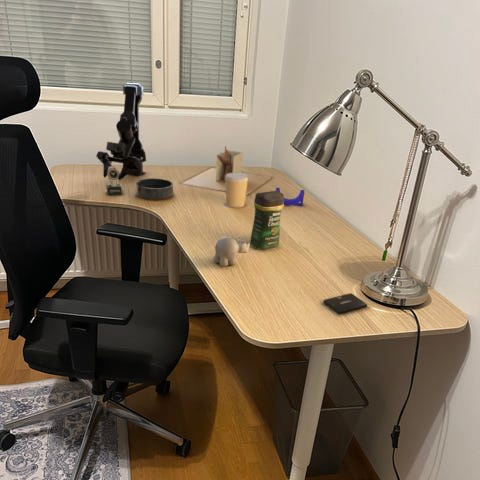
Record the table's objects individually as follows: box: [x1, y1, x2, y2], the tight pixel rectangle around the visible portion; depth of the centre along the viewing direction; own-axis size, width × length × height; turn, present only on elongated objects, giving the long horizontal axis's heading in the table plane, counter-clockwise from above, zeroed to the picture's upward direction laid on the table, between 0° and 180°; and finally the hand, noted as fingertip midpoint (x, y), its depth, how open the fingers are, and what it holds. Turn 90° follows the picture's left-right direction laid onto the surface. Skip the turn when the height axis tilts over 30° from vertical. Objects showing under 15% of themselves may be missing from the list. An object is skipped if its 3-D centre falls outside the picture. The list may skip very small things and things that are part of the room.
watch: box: [106, 165, 123, 196], centre depth 193 cm, size 6×8×11 cm
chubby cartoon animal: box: [213, 236, 250, 267], centre depth 143 cm, size 7×12×8 cm, turn 120°
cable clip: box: [275, 187, 305, 207], centre depth 197 cm, size 12×4×6 cm, turn 84°
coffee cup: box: [225, 173, 248, 208], centre depth 190 cm, size 9×9×12 cm
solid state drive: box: [323, 293, 368, 315], centre depth 127 cm, size 7×10×1 cm
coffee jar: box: [249, 189, 285, 250], centre depth 153 cm, size 10×8×19 cm
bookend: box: [214, 146, 246, 182], centre depth 219 cm, size 9×11×17 cm
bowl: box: [135, 177, 174, 201], centre depth 196 cm, size 15×15×5 cm
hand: (111, 178), depth 191 cm, fingers closed on watch, 7 cm apart
